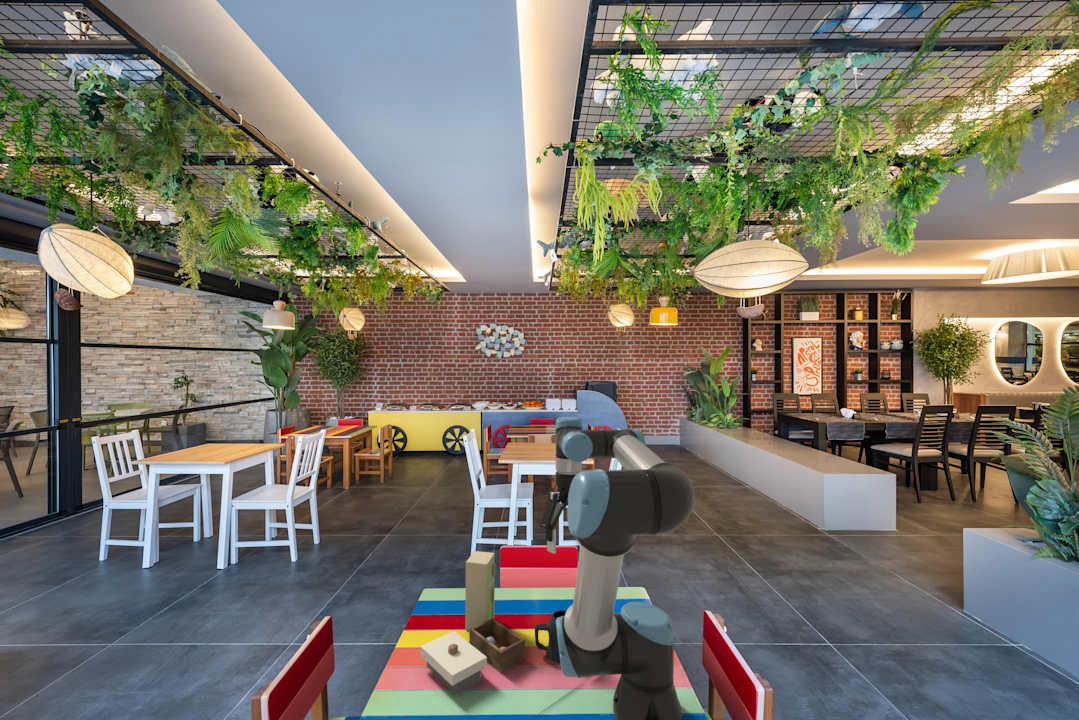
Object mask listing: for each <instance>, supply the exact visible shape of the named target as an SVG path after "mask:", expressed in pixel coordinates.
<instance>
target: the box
mask: <svg viewBox="0 0 1079 720" xmlns="http://www.w3.org/2000/svg"><path fill="white" fill-rule="evenodd" d="M468 632H469V633H468V635H469V637H468V642H469V643H470V644H471V645H472V646H474V647H475V648H476V649H477V650H479V651H480V652H481V653H482V654H484V655H485V656H486V657H487V664H488V665H489V666H491V668H494V669H495V670H496V671H497V672H498V673H500V674H502V673H504V672H506V671H508V670H509V669H511V668H513V667H514V666H516V665H519V664H520V663H522V662H523V661H525V660H526V658H525V657H526V640H525V639H524V638H523V637H521V636H520V635H519V634H517V633H515V632H514V631H512V630H511V629H510V628H509V627H506V626H505V625H504V624H503V623H501V622H500V621H498V620H497V619H495V618H494V619H493V618H492V619H490V620H488V621H485V622H483V623H481V624H479V625H477V626H475V627H473V628H470V629H469V631H468ZM487 637H493V638H494V639H495V645H494V644H493V643H491V642H490V641H489V640H487V639H486V638H487ZM501 647H506V648H504V649H503V650H501V649H500V648H501Z"/></svg>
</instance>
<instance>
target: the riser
mask: <svg viewBox="0 0 1079 720" xmlns="http://www.w3.org/2000/svg"><path fill="white" fill-rule="evenodd" d="M426 667H427V669H429V670H430V671H431V672H432V673H433V674H434V675H435V677H437V678H438V679H439V680H440V681H441V682H442V683H443V684H444V685H445V686H446V687H448V689H449V690H450V691H451V692H452V693H453V694H455V696H458V695H460V694H461V693H463V692H466V691H467V690H469V689H471V688H472V687H474V686H476V685H477V684H480V683H481V681H482V680H481V678H482V677H481V676H482V670H480V671H478V672H476V673H475V674H473V675H471V676H469V677H467V678H465V679H464V680H462V681H460V682H458V683H456V684H455V685H453V686H452V685H451V684H450V683H449V682H448V681H447V680H446V679H445V678H443V677H442V676H441V675H440V674H439V673H438V672H437V671H436V670H435V669H434V668H433V667H432V666H431V665H430V664H429V663H428V662H427V661H426Z"/></svg>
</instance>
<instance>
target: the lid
mask: <svg viewBox="0 0 1079 720" xmlns="http://www.w3.org/2000/svg"><path fill="white" fill-rule="evenodd" d="M420 657H421V658H422V659H424V660H425V662H426V663H427V662H428V663H429V664H430V665H431V666H432V667H433V668H434V669H435V670H436V671H437V672H438V673H439V674H440V675H441V676H442V677H443V678H445V679H446V680H447V681H448V682H449V683H450V684H451V685H452V686H453V685H455V684H456V683H458V682H460V681H462V680H464V679H465V678H467V677H469V676H471V675H473V674H475V673H476V672H478V671H480V670H481V671H482V670H483V669H485V668H487V667H488V663H487V657H486V656H485V655H484V654H482V653H481V652H480V651H479V650H477V649H476V648H475V647H474V646H472V645H471V644H470V643H469V641H467V640H466V639H465V638H464V637H462V636H461V635H460V634H459V633H457V632H456V631H455V630H453V631H450V632H448V633H446V634H444V635H442V636H440V637H437V638H435V639H432V640H431V641H429V642H427V643H425V644H422V645H421V646H420Z"/></svg>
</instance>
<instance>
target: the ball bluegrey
mask: <svg viewBox="0 0 1079 720" xmlns="http://www.w3.org/2000/svg"><path fill="white" fill-rule="evenodd" d="M486 639H487V640H489V641H490V642H491V643H493V644H494V645H495V639H494V638H493V637H487V638H486Z"/></svg>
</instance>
